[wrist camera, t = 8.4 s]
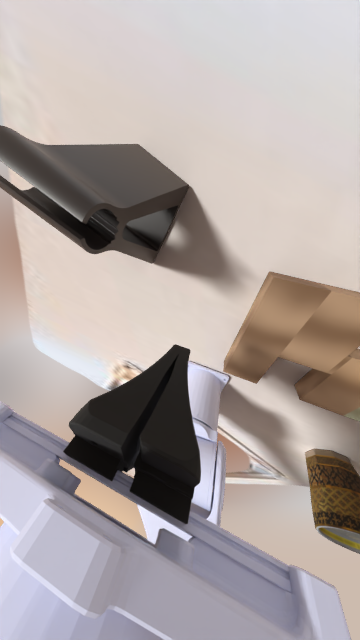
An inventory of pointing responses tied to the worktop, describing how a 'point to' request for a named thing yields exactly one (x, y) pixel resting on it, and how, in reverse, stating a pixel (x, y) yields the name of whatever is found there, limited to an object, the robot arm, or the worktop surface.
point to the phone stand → (96, 192)
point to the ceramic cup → (335, 497)
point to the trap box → (304, 340)
